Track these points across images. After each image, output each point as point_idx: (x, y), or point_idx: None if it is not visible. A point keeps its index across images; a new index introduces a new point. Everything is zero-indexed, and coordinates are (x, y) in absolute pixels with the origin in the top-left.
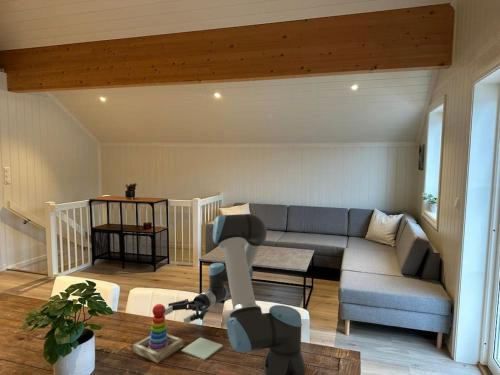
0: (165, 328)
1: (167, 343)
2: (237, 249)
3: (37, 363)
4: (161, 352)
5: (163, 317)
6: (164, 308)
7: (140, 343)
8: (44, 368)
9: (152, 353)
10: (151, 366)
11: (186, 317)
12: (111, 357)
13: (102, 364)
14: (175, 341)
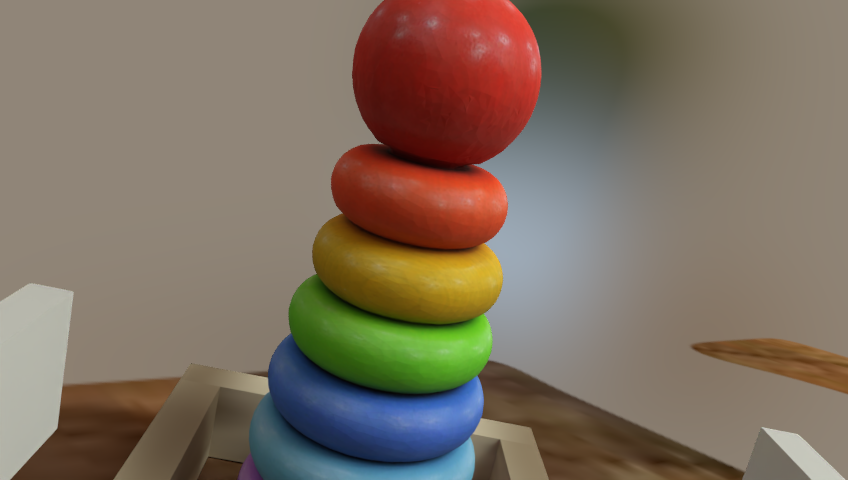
0: (292, 313)
1: None
2: None
3: (768, 365)
4: (180, 390)
5: (349, 154)
6: (376, 21)
7: (503, 457)
8: (699, 350)
9: (257, 376)
10: None
11: (12, 310)
12: (567, 428)
13: (529, 384)
14: None
